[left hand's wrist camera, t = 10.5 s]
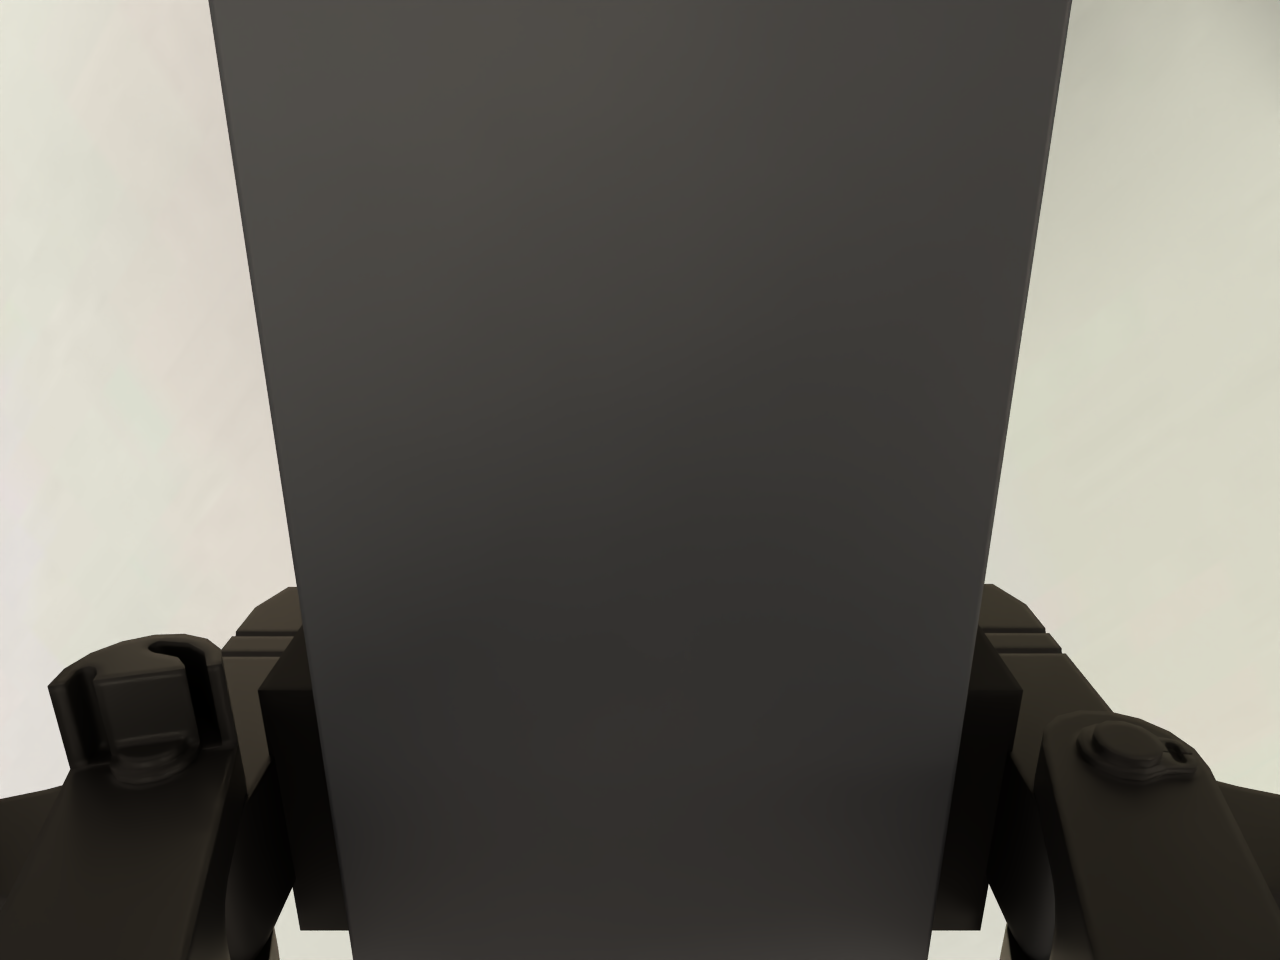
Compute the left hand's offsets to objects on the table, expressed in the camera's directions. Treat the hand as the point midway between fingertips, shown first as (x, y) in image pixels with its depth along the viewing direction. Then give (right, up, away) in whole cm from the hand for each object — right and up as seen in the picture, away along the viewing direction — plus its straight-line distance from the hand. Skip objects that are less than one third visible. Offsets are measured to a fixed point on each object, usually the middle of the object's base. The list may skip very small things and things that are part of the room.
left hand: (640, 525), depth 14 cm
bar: (0, -31, +13) cm, 33 cm away
